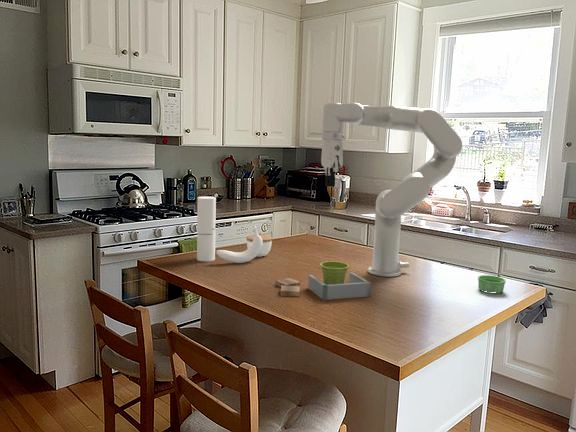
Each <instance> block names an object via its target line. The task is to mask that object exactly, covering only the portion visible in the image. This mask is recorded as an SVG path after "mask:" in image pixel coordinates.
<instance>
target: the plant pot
mask: <svg viewBox="0 0 576 432" xmlns="http://www.w3.org/2000/svg"><path fill="white" fill-rule="evenodd" d="M320 267H321V271H322V278H323V280H322V282H323V283H324V284H326V285H331V284H345V278H346V274H347V271H348V268H349V267H350V266H349V264H348V263H346V262H342V261H336V260H335V261H333V260H330V261H324V262H320Z"/></svg>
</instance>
